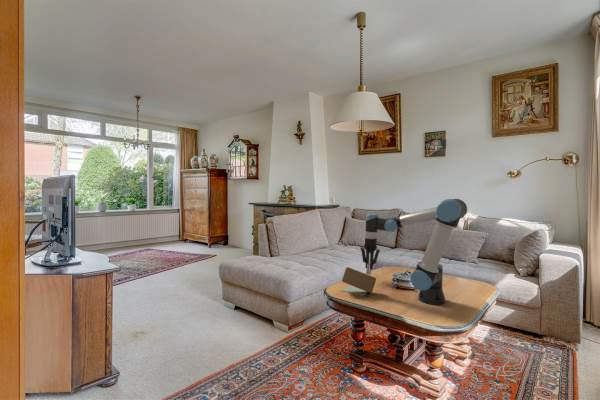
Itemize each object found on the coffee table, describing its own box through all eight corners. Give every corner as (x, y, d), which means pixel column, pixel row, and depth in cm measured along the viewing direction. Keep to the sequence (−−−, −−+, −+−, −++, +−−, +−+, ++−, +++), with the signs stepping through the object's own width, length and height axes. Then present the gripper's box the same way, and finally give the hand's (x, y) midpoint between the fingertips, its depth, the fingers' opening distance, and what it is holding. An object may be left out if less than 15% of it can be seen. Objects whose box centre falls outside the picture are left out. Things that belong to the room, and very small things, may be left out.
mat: (372, 289, 210) (372, 289, 210) (363, 295, 199) (363, 295, 199) (350, 285, 220) (350, 284, 220) (341, 290, 208) (341, 290, 208)
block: (375, 278, 207) (346, 266, 211) (376, 278, 197) (346, 266, 202) (370, 292, 205) (341, 281, 210) (371, 293, 196) (341, 281, 200)
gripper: (383, 238, 201) (381, 274, 202) (363, 235, 209) (361, 270, 210) (378, 240, 195) (376, 277, 196) (358, 237, 203) (356, 272, 204)
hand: (368, 273), depth 203 cm, fingers closed
